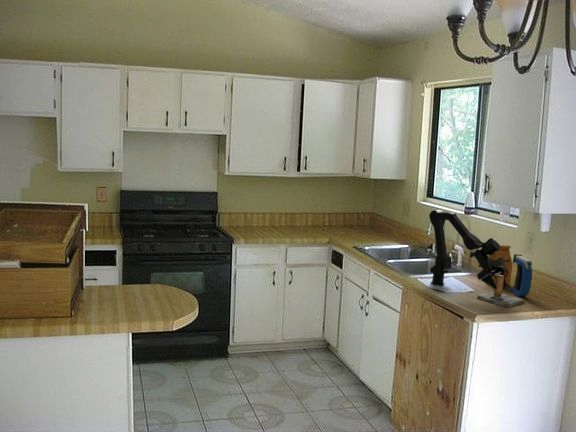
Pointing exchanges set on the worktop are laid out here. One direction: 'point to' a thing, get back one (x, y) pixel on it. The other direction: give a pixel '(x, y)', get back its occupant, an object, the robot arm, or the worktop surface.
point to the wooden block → (498, 287)
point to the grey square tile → (505, 299)
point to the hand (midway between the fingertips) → (501, 287)
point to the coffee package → (505, 254)
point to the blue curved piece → (522, 276)
